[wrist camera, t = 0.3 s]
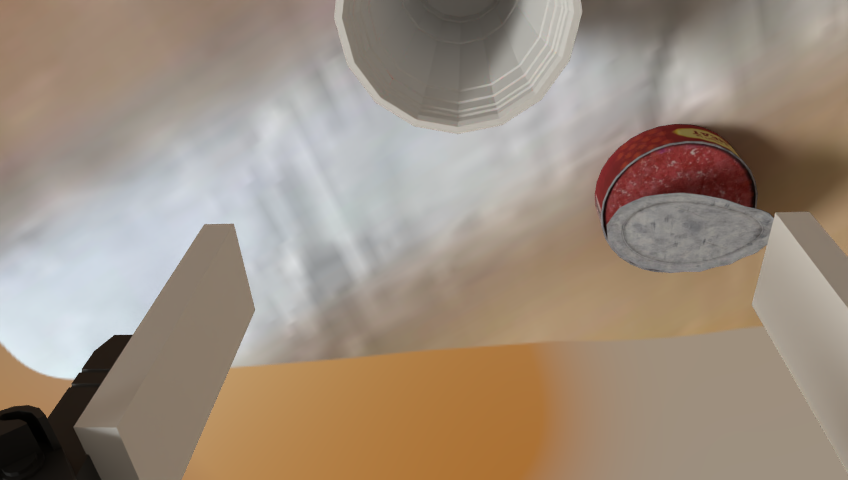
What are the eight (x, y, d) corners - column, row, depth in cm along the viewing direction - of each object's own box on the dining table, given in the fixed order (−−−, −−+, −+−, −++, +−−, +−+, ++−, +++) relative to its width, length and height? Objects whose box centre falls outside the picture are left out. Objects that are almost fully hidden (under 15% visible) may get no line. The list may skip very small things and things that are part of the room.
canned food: (723, 160, 50) (806, 265, 44) (602, 228, 52) (665, 337, 46) (697, 67, 41) (798, 183, 35) (553, 155, 43) (624, 277, 38)
